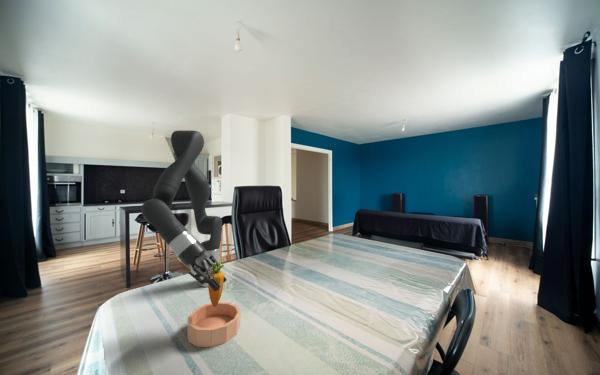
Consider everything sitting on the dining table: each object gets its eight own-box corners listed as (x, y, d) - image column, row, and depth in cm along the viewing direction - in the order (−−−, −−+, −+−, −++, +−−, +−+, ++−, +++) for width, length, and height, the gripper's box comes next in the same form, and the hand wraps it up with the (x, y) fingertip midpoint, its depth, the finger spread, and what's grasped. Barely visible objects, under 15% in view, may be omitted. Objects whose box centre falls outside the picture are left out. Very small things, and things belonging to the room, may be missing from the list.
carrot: (217, 301, 76) (219, 258, 76) (225, 306, 72) (227, 261, 73) (203, 306, 72) (206, 261, 72) (211, 312, 69) (213, 265, 69)
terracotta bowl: (201, 315, 80) (202, 301, 80) (244, 316, 80) (245, 303, 80) (176, 345, 64) (177, 328, 64) (230, 347, 64) (231, 330, 64)
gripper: (184, 245, 65) (222, 287, 65) (205, 236, 80) (236, 270, 79) (166, 262, 65) (203, 304, 65) (190, 249, 80) (221, 284, 79)
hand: (221, 285), depth 72 cm, fingers closed on carrot, 5 cm apart
